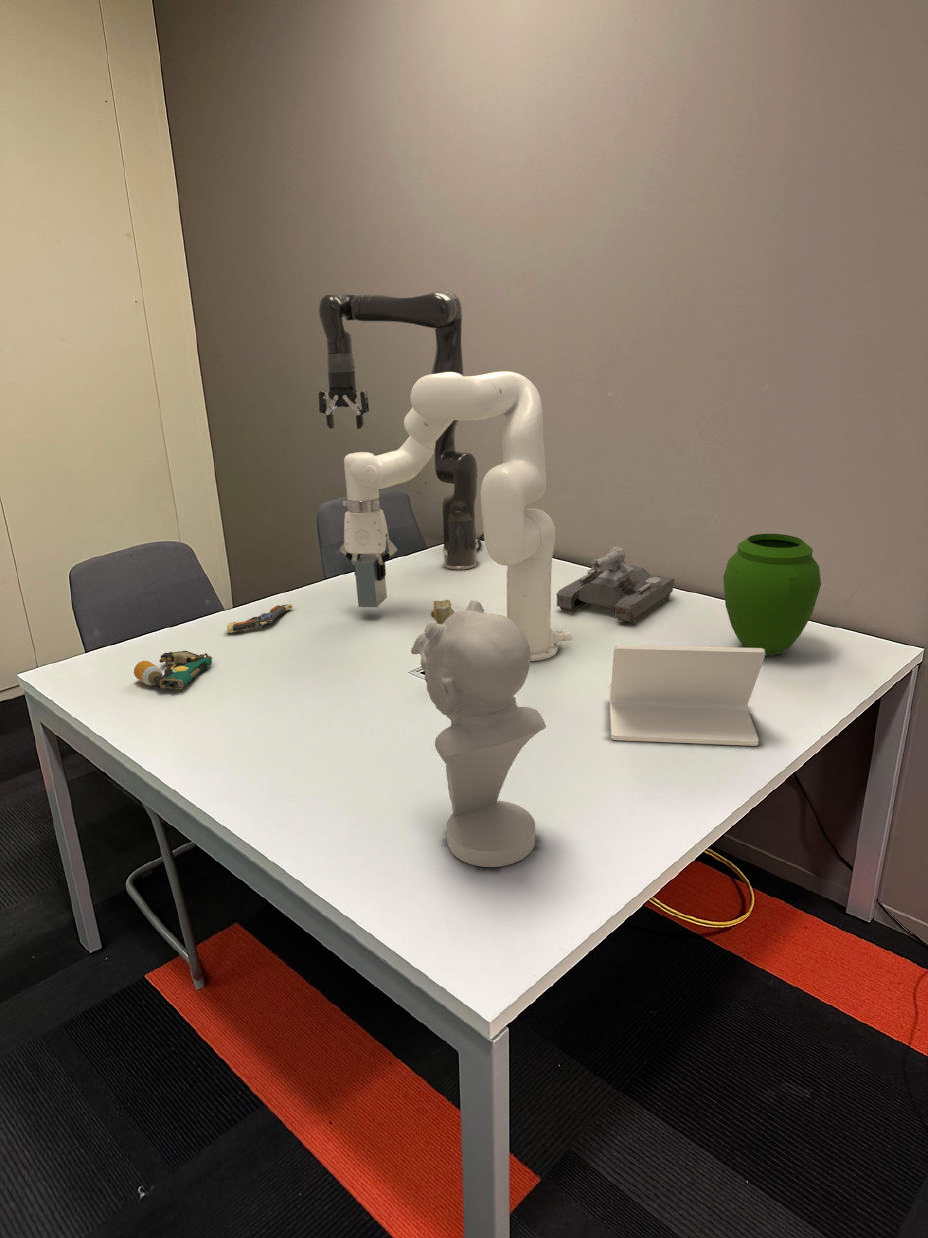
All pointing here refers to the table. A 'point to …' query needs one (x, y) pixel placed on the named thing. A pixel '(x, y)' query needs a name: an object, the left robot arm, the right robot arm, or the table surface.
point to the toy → (616, 588)
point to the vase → (771, 590)
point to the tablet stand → (683, 694)
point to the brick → (369, 582)
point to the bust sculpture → (481, 729)
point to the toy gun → (258, 619)
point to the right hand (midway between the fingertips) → (370, 578)
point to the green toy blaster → (172, 669)
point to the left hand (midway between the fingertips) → (345, 428)
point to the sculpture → (441, 611)
